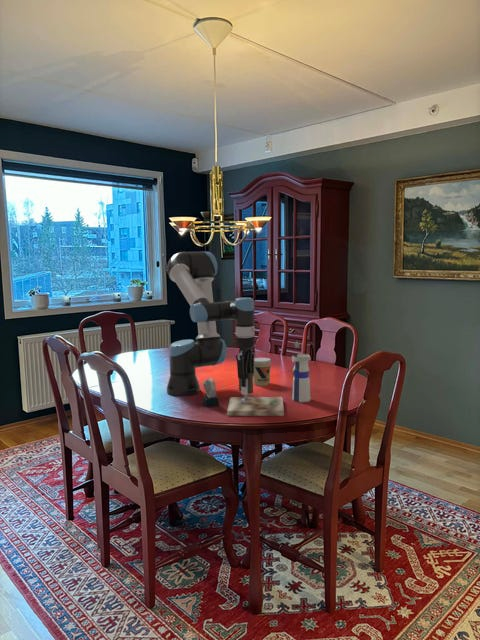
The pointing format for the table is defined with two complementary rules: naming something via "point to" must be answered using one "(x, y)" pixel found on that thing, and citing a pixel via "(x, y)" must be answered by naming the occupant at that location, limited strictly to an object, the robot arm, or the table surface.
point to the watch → (210, 393)
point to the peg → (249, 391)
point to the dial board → (256, 407)
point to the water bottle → (301, 377)
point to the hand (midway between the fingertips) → (246, 393)
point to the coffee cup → (262, 371)
